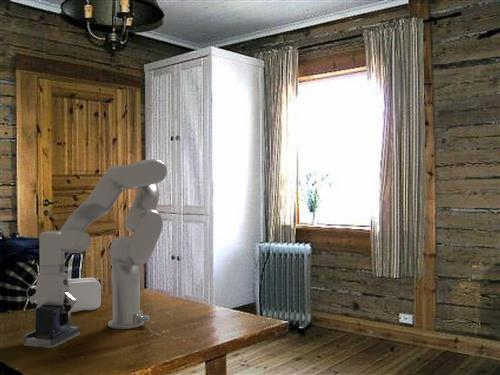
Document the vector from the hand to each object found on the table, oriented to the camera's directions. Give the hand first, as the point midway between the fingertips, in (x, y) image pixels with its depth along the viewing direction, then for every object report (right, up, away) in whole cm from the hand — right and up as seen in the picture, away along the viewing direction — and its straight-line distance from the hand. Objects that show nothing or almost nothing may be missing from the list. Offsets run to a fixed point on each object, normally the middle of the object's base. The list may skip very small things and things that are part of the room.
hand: (52, 323), depth 164 cm
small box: (0, -5, 0) cm, 5 cm away
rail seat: (0, -5, 0) cm, 5 cm away
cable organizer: (-5, -5, +42) cm, 43 cm away
